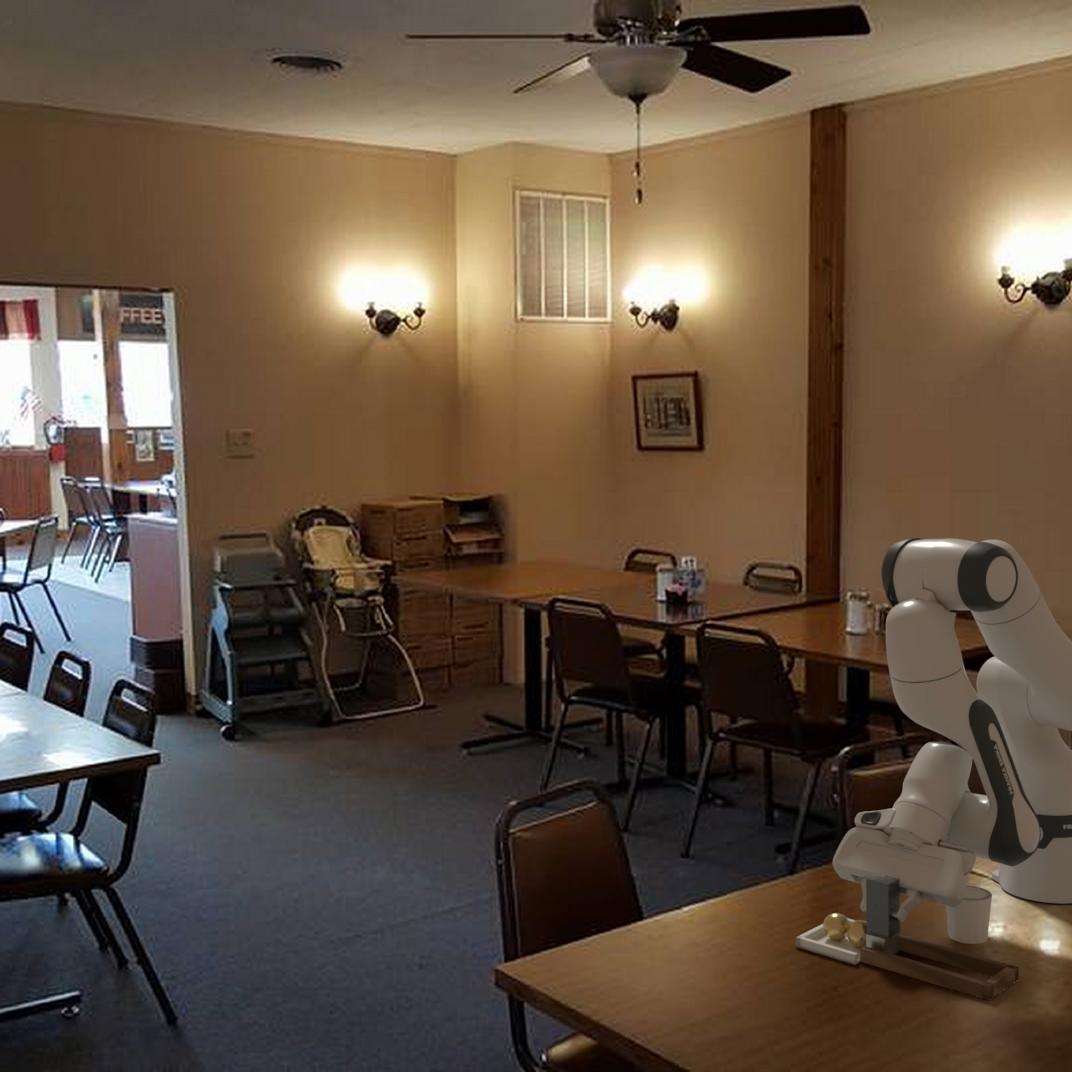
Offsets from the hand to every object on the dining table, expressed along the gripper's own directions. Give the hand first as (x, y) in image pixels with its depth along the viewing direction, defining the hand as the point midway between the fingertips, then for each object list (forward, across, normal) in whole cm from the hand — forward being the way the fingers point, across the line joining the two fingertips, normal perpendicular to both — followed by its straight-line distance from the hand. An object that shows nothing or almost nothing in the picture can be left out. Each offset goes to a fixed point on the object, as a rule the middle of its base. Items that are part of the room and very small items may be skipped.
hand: (881, 915), depth 192 cm
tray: (+4, +6, -5) cm, 9 cm away
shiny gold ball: (+3, +6, -4) cm, 8 cm away
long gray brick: (+4, 0, -4) cm, 6 cm away
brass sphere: (+3, +2, -4) cm, 6 cm away
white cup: (-6, -6, -16) cm, 18 cm away
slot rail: (+4, -9, -5) cm, 11 cm away
